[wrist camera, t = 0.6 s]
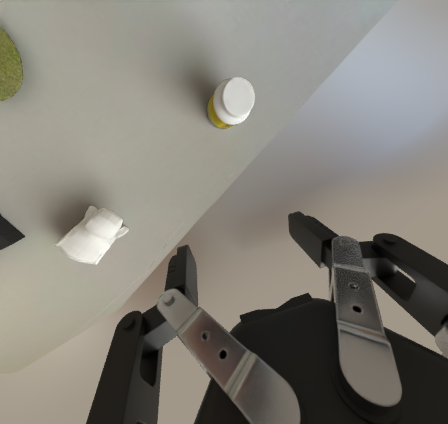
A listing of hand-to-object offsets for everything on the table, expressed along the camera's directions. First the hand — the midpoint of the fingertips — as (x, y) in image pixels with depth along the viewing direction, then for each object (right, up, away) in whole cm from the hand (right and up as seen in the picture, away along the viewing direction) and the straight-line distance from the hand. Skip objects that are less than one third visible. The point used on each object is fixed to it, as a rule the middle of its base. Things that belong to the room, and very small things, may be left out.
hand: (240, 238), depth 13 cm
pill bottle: (-2, +22, +21) cm, 30 cm away
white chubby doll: (-27, -1, +23) cm, 36 cm away
